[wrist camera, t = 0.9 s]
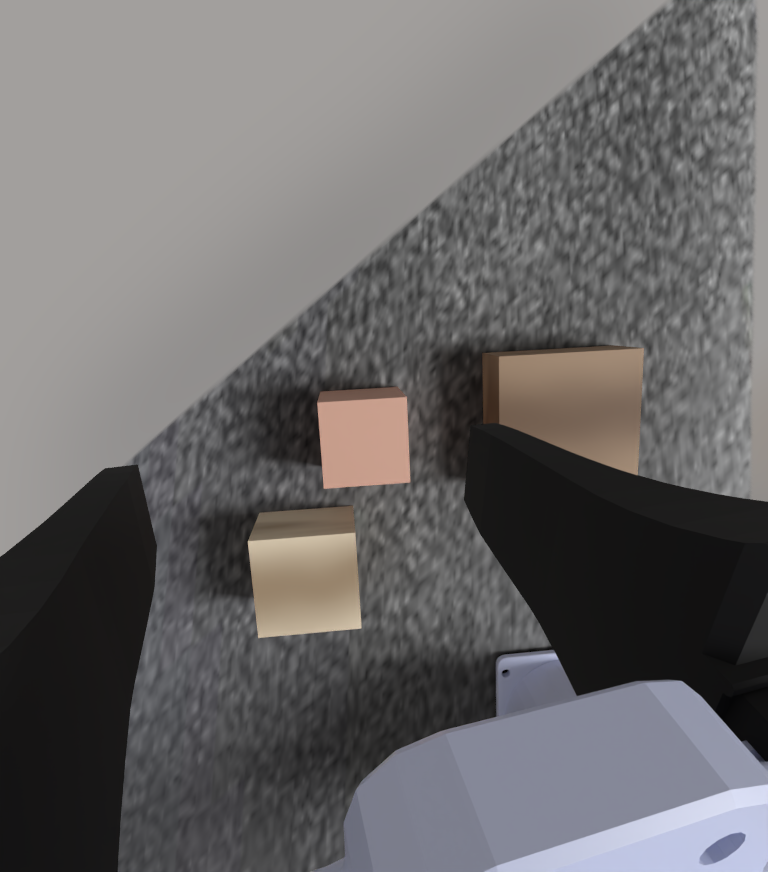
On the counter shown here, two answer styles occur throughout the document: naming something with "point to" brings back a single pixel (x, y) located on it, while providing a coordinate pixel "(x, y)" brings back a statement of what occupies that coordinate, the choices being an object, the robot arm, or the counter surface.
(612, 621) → the robot arm
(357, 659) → the counter surface
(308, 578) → the maple block
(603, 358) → the walnut base
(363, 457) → the terracotta block
